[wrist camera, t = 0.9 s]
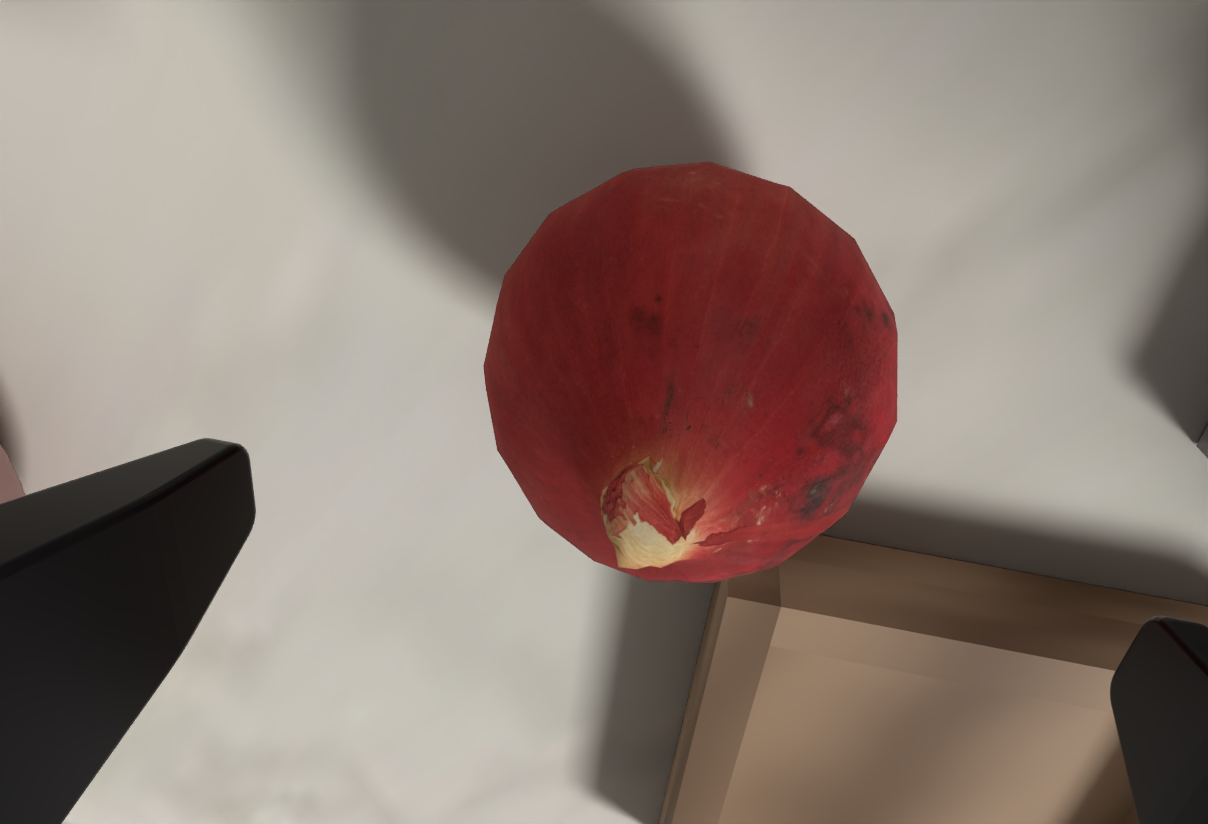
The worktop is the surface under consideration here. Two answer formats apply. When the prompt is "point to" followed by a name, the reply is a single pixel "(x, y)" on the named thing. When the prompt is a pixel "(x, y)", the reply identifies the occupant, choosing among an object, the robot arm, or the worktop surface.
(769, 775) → the tray
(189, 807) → the worktop surface
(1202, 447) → the button housing
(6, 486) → the mortar and pestle
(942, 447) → the worktop surface
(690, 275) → the onion
